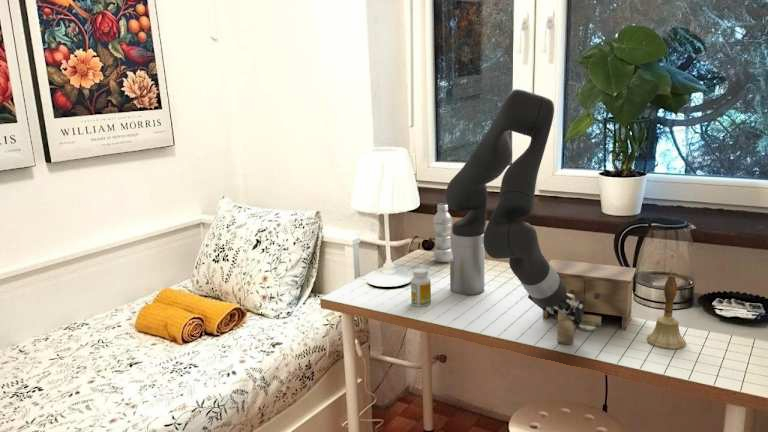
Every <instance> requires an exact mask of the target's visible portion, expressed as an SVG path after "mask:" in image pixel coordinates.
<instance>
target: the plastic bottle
mask: <svg viewBox="0 0 768 432" xmlns="http://www.w3.org/2000/svg"><path fill="white" fill-rule="evenodd" d="M436 206H437V208H436V210H437V212H436V213H435V215H434V217H433V228H434V237H435V239H434V240H435V241H434V250H433V257H434V258H433V259H434V260H435V262H438V263H450V259H452V258H453V247H452V240H451V239H452V238H451V236H452V227H453V218H452V216H451V214H450V212H449V206H448V204H447V203H445V202H444V203H438V204H437V205H436Z"/></svg>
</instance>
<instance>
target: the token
mask: <svg viewBox="0 0 768 432" xmlns="http://www.w3.org/2000/svg"><path fill="white" fill-rule="evenodd" d="M577 329H578V330H579V331H582V332H586V333H593V332H596V331H597V330H598V325H597V323H595V322H593V321H588V320H584V321H581V323H580V325H579V326H577Z"/></svg>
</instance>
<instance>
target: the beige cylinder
mask: <svg viewBox="0 0 768 432" xmlns="http://www.w3.org/2000/svg"><path fill="white" fill-rule="evenodd" d="M567 295H568V296H570V297H571V298H572V301H574V302H575V296H574V295H572V294H567ZM571 312H572V309H571ZM571 312H570V313H571ZM581 318H582V321H584V320H588V321H593V322H595V323H597V326H599V327H600V326H601V325H602V315H596V314H587V313H583V315H582V317H581ZM556 326H557V327H556V328H557V329H556V330H557V332H556V341H557V342H558V343H559V344H563V345H571V344H573V343H574V334H575V331H576V330H577V329H578V326H575V325H574V324H573V322H572V321H571V320H570V318H569V317H568V316H566V315H563V314H562V313H561V312H560V311H558V319H557V325H556Z"/></svg>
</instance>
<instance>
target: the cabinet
mask: <svg viewBox="0 0 768 432" xmlns="http://www.w3.org/2000/svg"><path fill="white" fill-rule="evenodd" d="M548 263H549V264H550V265H551V266H552V267H553V268H554V270H555V271H556V272H557V274H558V275H559V277H560V278H561V279H562V281H563V282H564V284H565V286H566V293H567V294H572V295H574V296H575V302H579V300H581V301H583V302H584V303H585V309H584V312H587V313H594V314H595V313H596V314H602V315H603V314H604V315H608V316H609V315H610V316H617V317H622V320H621V330H622V331H627V329H628V326H629V322H630V321H631V317H632V305H633V290H634V289H633V288H634V277H635V275H636V272H637V268H636V267H628V266H621V265H608V264H599V263H591V262H582V261H581V262H580V261H572V260H564V259H563V260H562V259H554V258H553V259H551V260H549V261H548ZM550 315H551V313H550V312H549V310H546V311H544V310H542V318H543V319H548V318H549V316H550Z"/></svg>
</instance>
